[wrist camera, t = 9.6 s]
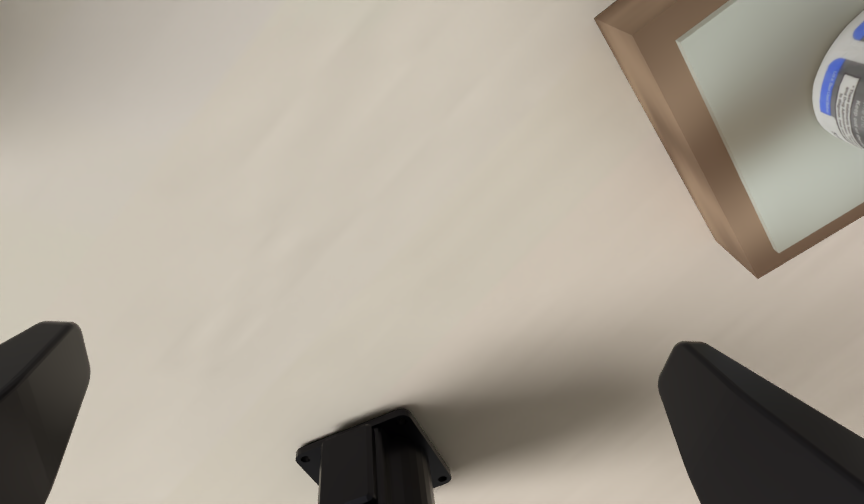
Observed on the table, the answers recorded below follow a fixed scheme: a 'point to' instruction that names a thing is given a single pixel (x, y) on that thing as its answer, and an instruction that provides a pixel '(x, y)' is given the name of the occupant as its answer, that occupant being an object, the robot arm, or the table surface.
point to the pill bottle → (843, 86)
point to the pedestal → (744, 115)
